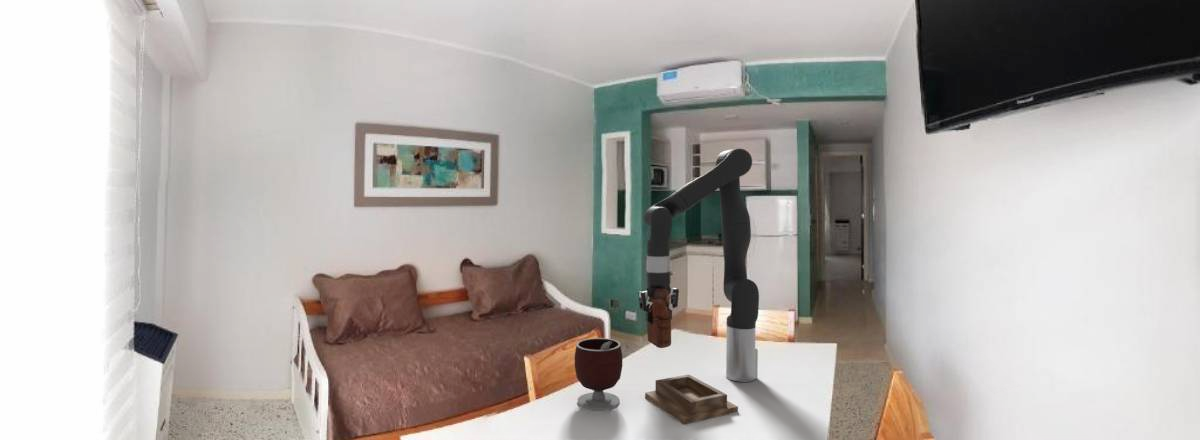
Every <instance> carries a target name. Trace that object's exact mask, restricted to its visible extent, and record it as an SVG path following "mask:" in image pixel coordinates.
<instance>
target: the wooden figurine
mask: <svg viewBox="0 0 1200 440" xmlns="http://www.w3.org/2000/svg"><path fill="white" fill-rule="evenodd" d="M648 297H649V296H648V295H647V297H646V301H647V300H648ZM669 299H670V295H669V296H668V291H667V290H666V289H665V288H662V287H661V288H657V289H655V290H654V292H653V295H652V299H650V298H649V302H652V303H653V305H652V324H648V323H647V322H646V332H647V333H646V334H647V341H648V342H649V343H651V344H652V345H654V346H655V347H656V348H659V349H664V348H665V349H666V348H668V347H670V346H671V344H672V320H671V314H670V311H669V310H668V307H669V304H670V301H671V300H670V301H669ZM646 305H647V303H646Z"/></svg>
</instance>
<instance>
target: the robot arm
mask: <svg viewBox="0 0 1200 440" xmlns="http://www.w3.org/2000/svg"><path fill="white" fill-rule="evenodd" d="M752 166H753V158H752V156H751V154H750V152H749V151H747V150H746V149H743V148H738V147H737V148H731V149H727V150H724V151H722V152H720V153H719V154H718V155H717V157H716V160H715V167H714V168H712V169H711V170H709V171H707V172H706V173H704V174H702V175H701V176H699V177H696V178H695V179H693V180H691V181H690V182H689V181H688V183H686V184H684V185H683V186H681V187H680V188H679V189H677V190H675V191H674V192H673V193H672V194H670V195H669V196H668V197H666V198H664V199H662V200H660V201H659V202H657V203H655V204H653V205H652V206H650V207H649V208H648V209H647V210H646V211H645V212H644V214H643V215H644V216H643V221H644V223H645V225H646V226H647V227H649V228H650V237H649V238H648V239H647V240H646V241H647V243H646V261H645V262H646V271H645V272H646V285H647V286H646V290H644V291H640V290H639V291H638V292H637V296H638V305H639V311H643V312H645V323H646V324H647V323H648V324H652V305H653V303H652V302H649V298H650V299H652V295H653V292H654V290H655V289H657V288H661V287H662V288H665V289H666V290H667V291H668V296H669V297H670V298H669V301H670V304H669V307H668V310H669V311H670V314H671V321H672V320H673V310H674V308H677V307H678V304H679V295H680V289H678V288H676V287H671V286H670V285H671V279H672V278H671V258H670V239H671V234H672V228H673V218H674V217H676V216H678V215H681V214H684V213H685V212H687V211H688V210H690V209H691V208H693V207H694V206H696V205H697V204H699V203H700V202H701V201H702V200H704V199H705V198H706V197H708V196H710V195H711V194H712V193H714V192H715V191H717V190H718V189H719V200H720V201H719V202H720V203H719V204H720V206H719V207H720V219H721V221H720V222H721V224H720V225H721V237H722V239H721V240H722V249H723V251H722V252H723V259H724V260H723V262H724V264H723V265H724V266H723V267H724V268H723V269H724V270H723V293H724V296H725V298H726V299H727V300H728V301H729V302H730V303H731V306H730V314H729V315H727V317H726V338H725V339H726V342H725V343H726V344H725V345H726V346H725V347H726V348H725V351H726V352H725V355H726V357H725V359H726V361H725V363H726V367H725V369H726V371H725V372H726V373H725V375H726V378H727V379H728V380H731V381H733V382H740V383H750V382H753V381H755V380H756V379H757V378H758V373H759V372H758V369H759V368H758V366H759V365H758V363H759V362H758V359H759V358H758V357H759V352H758V351H759V350H758V348H756V325H757V324H756V323H757V321H758V318H759V308H760V307H759V305H760V291H759V287H758V285H757V283H755V282H754V281H753V280H752V279H749V278H748V276H747V269H746V262H747V261H746V259H747V254H748V250H749V249H750V243H751V238H752V230H751V229H752V228H751V217H750V213H749V210H748V208H747V205H746V204H745V200H744V199H743V197H742V193H741V181H740V179H741V177H743V176H745V175H746V174H748V173H749V171H750V170H751V169H752ZM648 296H649V297H648ZM647 298H648V300H647ZM646 304H647V305H646Z"/></svg>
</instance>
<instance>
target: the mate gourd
mask: <svg viewBox="0 0 1200 440" xmlns="http://www.w3.org/2000/svg"><path fill="white" fill-rule="evenodd" d="M575 344H576V347H575V351H574V369H575V376H576V379H577V380H578V382H579V383H580V384H581V385H582V387H584V388H585V389H588V390H592V392H587V393H584V394H581V395H580V396H579V397H578V398H577V405H578V407H580V408H581V409H584V410H587V411H594V412H604V411H605V412H606V411H610V410H612V409H615V408H617V407H618V406H619V405H620V403H621V401H620V397H618V395H616V394H613V393H610V392H604V391H605V390H609V389H613V388H614V387H615V386H616V385H617V383H619V380H620V379H621V375H622V371H623V352H622V347H621V342H620V341H618V340H616V339H612V338H604V337H592V338H591V337H590V338H585V339H581V340H579V341H578V342H576V343H575Z"/></svg>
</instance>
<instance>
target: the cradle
mask: <svg viewBox="0 0 1200 440" xmlns="http://www.w3.org/2000/svg"><path fill="white" fill-rule="evenodd" d="M644 398H645V399H646V400H648V401H649V402H651V403H653V404H654V405H655V406H656V407H659V408H660V409H661V410H662V411H664V412H665V413H667V414H668V415H669V416H671V417H673V418H674V419H675V420H677V421H678V422H680V423H681V424H682V425H687V424H690V423H691V424H692V423H696V422H699V421H700V422H701V421H704V420H709V419H712V418H713V419H714V418H718V417H722V416H727V415H730V414H736V413H738V412H739V406H737V405H736V404H734V403H732V402H730V401H729V400H728V394H726V393H725V392H723V391H721V390H719V389H717V388H716V387H714V386H712V385H710V384H708V383H706V382H704V381H702V380H700V379H699V378H697V377H695V376H693V375H691V374H690V373H689V374H684V375H678V376H672V377H667V378H660V379H657V380H655V390H651V391H645V392H644Z"/></svg>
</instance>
